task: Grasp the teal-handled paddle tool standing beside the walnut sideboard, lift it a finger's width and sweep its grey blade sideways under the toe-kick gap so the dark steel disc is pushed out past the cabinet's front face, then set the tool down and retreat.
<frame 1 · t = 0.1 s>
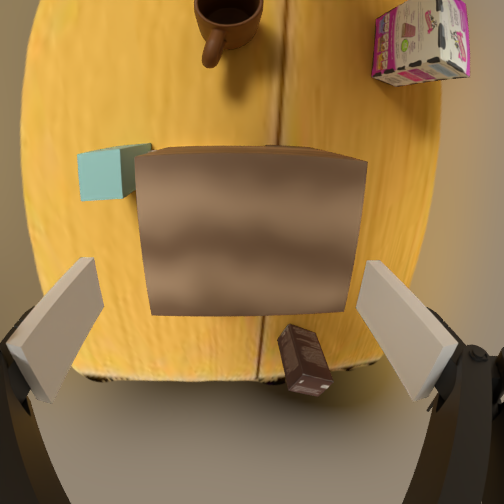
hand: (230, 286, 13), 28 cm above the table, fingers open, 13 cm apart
mug: (223, 40, 31), on the table
candy bar box: (386, 52, 32), on the table
box: (296, 335, 50), on the table
tool: (134, 162, 36), on the table
cabinet: (242, 194, 40), on the table
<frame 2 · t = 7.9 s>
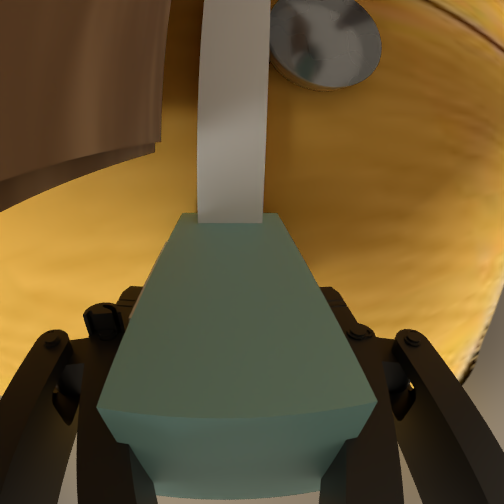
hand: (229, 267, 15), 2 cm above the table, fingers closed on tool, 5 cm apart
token: (316, 44, 13), on the table
tool: (229, 256, 16), point 1 cm above the table, touching gripper
cabinet: (77, 19, 10), on the table
when the fingers open (1 cm above the table, at t = 8.9 s): tool stays where it is, on the table.
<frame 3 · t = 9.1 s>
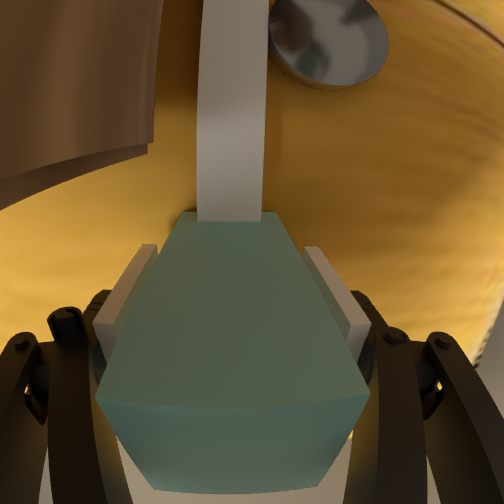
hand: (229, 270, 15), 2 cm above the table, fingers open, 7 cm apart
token: (320, 40, 12), on the table
tool: (228, 254, 16), on the table
cabinet: (70, 15, 10), on the table
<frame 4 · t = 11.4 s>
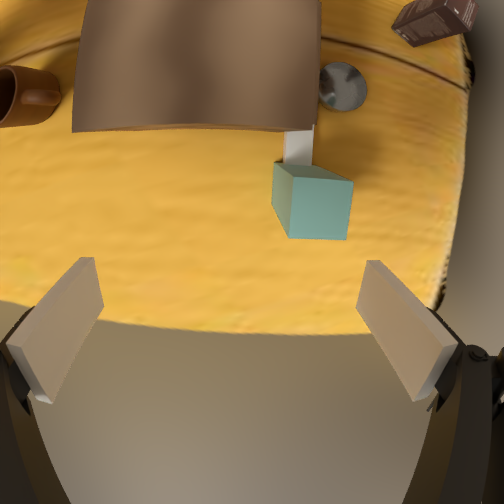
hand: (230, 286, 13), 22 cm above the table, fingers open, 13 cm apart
mug: (52, 99, 27), on the table
box: (409, 27, 25), on the table
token: (336, 88, 29), on the table
tool: (293, 184, 34), on the table
cabinet: (215, 57, 27), on the table
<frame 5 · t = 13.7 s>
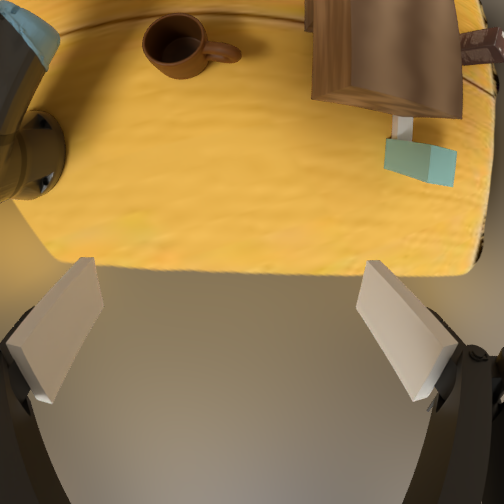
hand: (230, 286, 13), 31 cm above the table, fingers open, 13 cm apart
mug: (199, 60, 34), on the table
box: (460, 50, 33), on the table
tool: (397, 155, 41), on the table
cabinet: (348, 56, 35), on the table
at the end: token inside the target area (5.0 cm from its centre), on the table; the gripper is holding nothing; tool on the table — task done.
